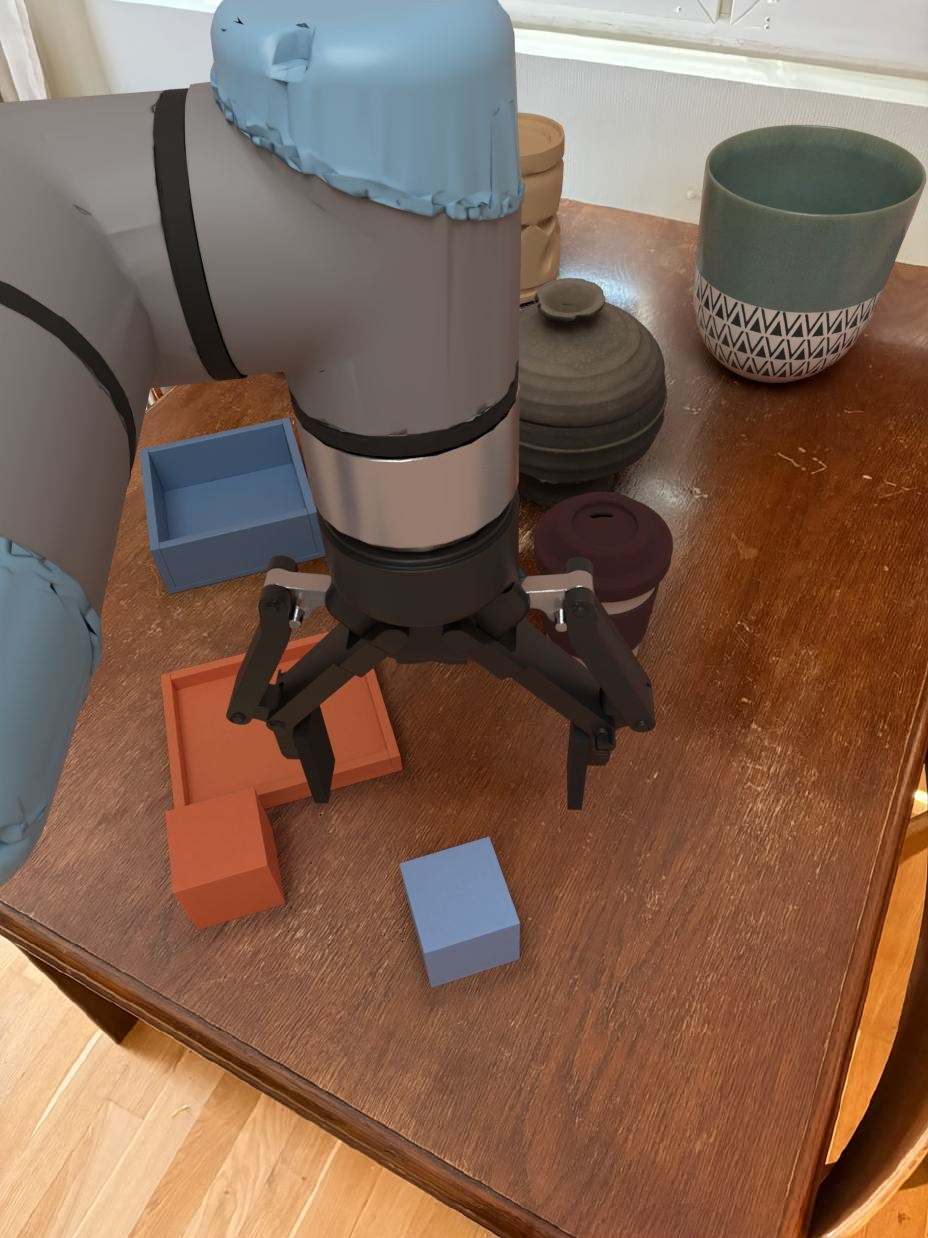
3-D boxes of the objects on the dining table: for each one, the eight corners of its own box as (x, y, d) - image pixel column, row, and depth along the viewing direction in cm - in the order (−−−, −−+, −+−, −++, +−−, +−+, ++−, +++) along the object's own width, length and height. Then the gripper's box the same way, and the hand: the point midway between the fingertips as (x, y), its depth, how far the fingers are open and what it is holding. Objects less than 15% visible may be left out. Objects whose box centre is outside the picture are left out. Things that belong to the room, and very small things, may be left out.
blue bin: (169, 594, 81) (149, 550, 77) (156, 493, 90) (139, 449, 86) (327, 556, 83) (317, 511, 79) (299, 461, 93) (289, 416, 88)
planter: (860, 429, 92) (934, 224, 76) (665, 406, 96) (695, 206, 80) (857, 326, 104) (920, 130, 88) (685, 309, 108) (715, 118, 92)
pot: (541, 565, 80) (539, 361, 66) (443, 471, 92) (425, 281, 78) (696, 496, 86) (724, 294, 72) (586, 416, 98) (592, 229, 84)
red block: (198, 930, 60) (172, 893, 56) (189, 852, 64) (164, 811, 60) (285, 903, 61) (267, 865, 57) (272, 828, 65) (254, 786, 61)
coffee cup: (620, 722, 70) (640, 592, 59) (509, 671, 74) (508, 541, 62) (670, 636, 75) (698, 503, 64) (565, 593, 79) (574, 460, 68)
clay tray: (183, 832, 65) (174, 819, 64) (167, 689, 74) (160, 674, 72) (403, 770, 68) (400, 755, 66) (363, 639, 77) (360, 623, 75)
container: (513, 321, 108) (513, 167, 94) (439, 287, 114) (429, 138, 100) (579, 280, 114) (588, 129, 100) (505, 250, 120) (504, 103, 106)
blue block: (431, 988, 57) (424, 954, 53) (407, 902, 61) (398, 863, 57) (519, 959, 58) (520, 923, 54) (491, 876, 62) (489, 836, 58)
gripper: (748, 422, 34) (673, 731, 50) (115, 423, 36) (238, 722, 52) (783, 563, 29) (688, 855, 45) (49, 557, 31) (207, 841, 47)
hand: (448, 784), depth 49 cm, fingers open, 13 cm apart
